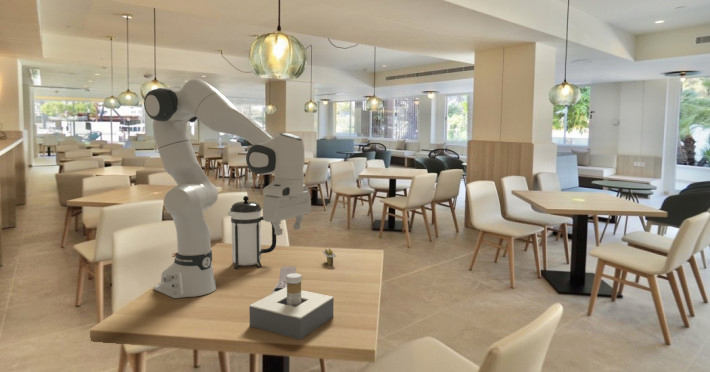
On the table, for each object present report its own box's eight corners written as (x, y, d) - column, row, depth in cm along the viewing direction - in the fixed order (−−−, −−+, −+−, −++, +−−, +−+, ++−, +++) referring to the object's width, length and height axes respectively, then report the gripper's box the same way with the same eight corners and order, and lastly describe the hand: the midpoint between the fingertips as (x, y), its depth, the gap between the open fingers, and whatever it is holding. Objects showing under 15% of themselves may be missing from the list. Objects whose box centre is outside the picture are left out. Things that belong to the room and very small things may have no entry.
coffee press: (248, 273, 181) (247, 199, 178) (221, 266, 190) (219, 196, 186) (277, 262, 196) (276, 195, 192) (250, 257, 204) (249, 192, 201)
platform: (320, 271, 186) (320, 256, 186) (311, 259, 203) (311, 245, 203) (347, 268, 190) (347, 253, 189) (336, 257, 207) (336, 243, 206)
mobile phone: (296, 266, 172) (286, 288, 147) (297, 281, 173) (286, 305, 148) (281, 266, 172) (267, 288, 147) (281, 281, 173) (268, 305, 148)
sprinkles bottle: (301, 314, 138) (301, 272, 136) (301, 321, 133) (301, 277, 132) (286, 315, 137) (286, 272, 136) (285, 321, 133) (285, 277, 131)
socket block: (249, 326, 132) (249, 305, 131) (286, 305, 148) (286, 287, 147) (300, 339, 123) (300, 317, 123) (333, 316, 139) (333, 296, 139)
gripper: (300, 183, 146) (299, 225, 148) (259, 189, 128) (258, 236, 130) (316, 185, 143) (315, 227, 145) (276, 191, 125) (275, 239, 127)
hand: (288, 232), depth 137 cm, fingers open, 8 cm apart
